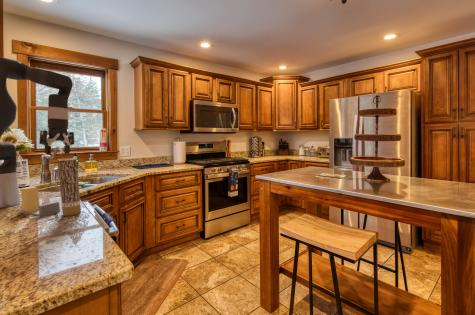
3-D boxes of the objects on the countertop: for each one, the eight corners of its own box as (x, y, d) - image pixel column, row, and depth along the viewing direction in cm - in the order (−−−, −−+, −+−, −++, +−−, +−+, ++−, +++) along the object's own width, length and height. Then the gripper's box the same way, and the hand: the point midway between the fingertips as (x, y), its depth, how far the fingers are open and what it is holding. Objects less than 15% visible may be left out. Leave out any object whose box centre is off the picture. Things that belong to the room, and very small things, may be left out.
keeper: (23, 211, 114) (20, 188, 113) (34, 208, 118) (32, 186, 118) (28, 212, 113) (26, 189, 112) (40, 209, 117) (37, 186, 116)
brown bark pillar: (64, 213, 112) (59, 158, 110) (82, 210, 115) (77, 157, 112) (61, 217, 106) (55, 159, 103) (79, 214, 108) (74, 158, 106)
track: (19, 213, 113) (17, 203, 113) (36, 209, 120) (35, 199, 120) (42, 217, 106) (41, 206, 106) (60, 212, 113) (58, 202, 112)
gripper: (66, 119, 118) (66, 153, 119) (35, 116, 104) (34, 154, 105) (78, 120, 116) (78, 154, 117) (48, 116, 102) (48, 155, 103)
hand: (57, 154), depth 111 cm, fingers open, 8 cm apart
